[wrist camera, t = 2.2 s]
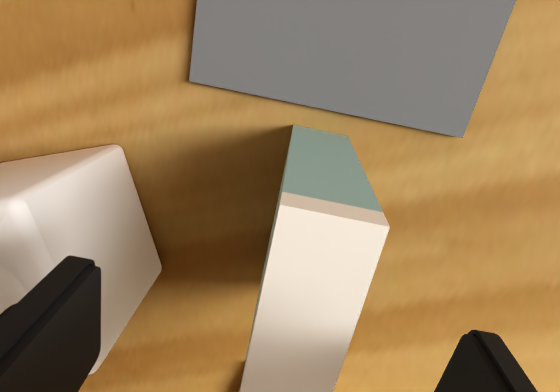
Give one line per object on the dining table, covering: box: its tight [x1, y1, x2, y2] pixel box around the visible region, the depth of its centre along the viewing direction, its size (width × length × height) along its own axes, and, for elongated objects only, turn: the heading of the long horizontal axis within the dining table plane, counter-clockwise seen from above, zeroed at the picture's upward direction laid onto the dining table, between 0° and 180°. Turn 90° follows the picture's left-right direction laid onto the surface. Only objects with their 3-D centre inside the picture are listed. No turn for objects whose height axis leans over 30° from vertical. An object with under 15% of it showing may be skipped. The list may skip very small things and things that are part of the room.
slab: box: [239, 125, 390, 392], centre depth 14 cm, size 2×8×9 cm, turn 169°
